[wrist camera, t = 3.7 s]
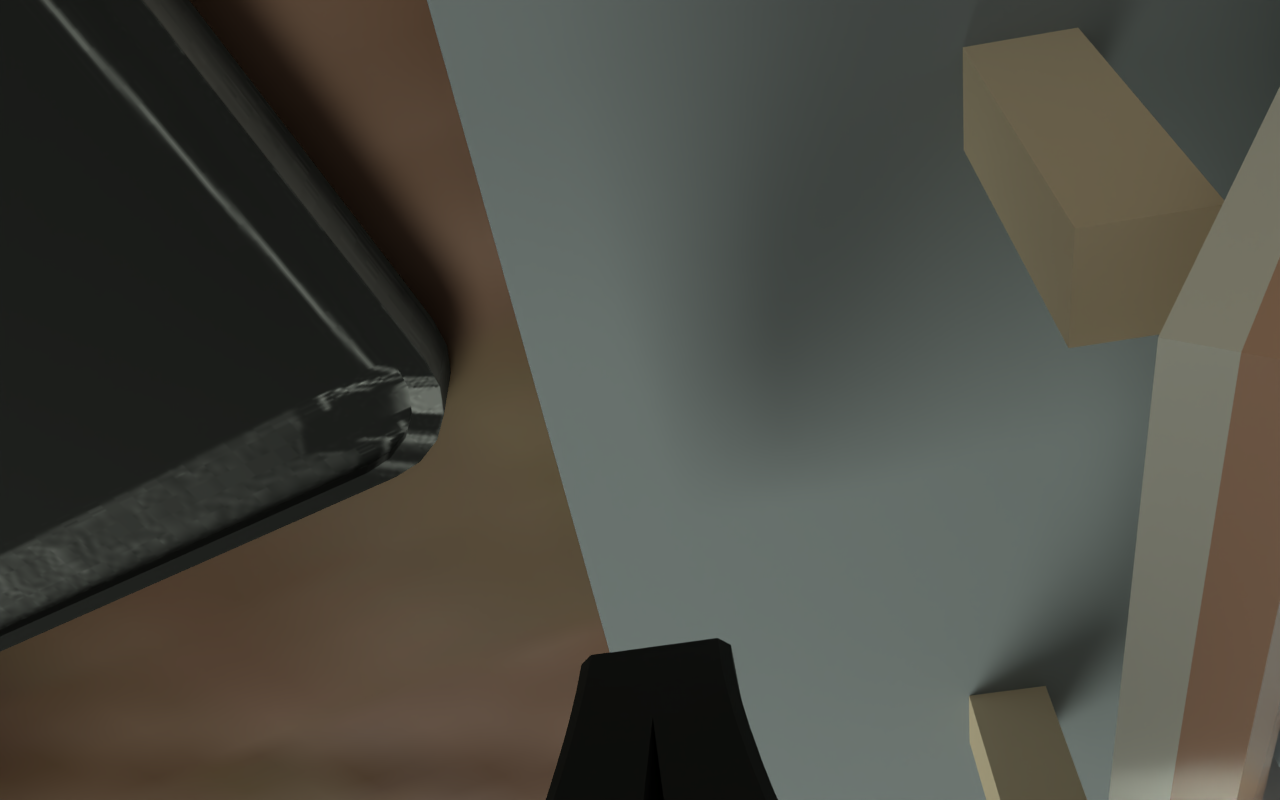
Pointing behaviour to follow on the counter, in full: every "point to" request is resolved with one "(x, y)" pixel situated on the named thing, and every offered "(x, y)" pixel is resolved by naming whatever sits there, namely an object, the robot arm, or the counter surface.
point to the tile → (1211, 519)
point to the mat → (863, 343)
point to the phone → (177, 314)
